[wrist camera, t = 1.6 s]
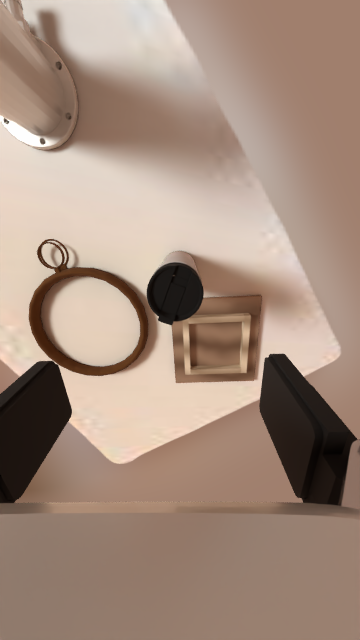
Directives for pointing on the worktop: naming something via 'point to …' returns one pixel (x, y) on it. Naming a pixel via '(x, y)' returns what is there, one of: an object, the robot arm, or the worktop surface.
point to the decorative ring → (41, 335)
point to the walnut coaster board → (218, 341)
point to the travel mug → (175, 288)
